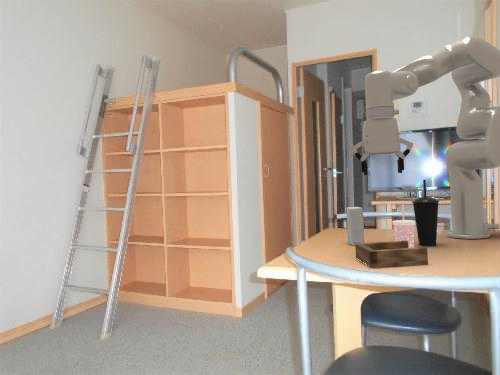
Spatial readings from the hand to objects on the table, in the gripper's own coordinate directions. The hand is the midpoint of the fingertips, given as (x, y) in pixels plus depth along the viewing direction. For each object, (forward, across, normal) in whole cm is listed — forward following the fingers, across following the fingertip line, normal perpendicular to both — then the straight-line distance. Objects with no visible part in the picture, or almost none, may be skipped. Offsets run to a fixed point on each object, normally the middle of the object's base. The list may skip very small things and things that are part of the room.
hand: (382, 173), depth 115 cm
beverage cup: (+23, -5, +3) cm, 23 cm away
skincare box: (+23, +8, -13) cm, 28 cm away
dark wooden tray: (+23, +1, +14) cm, 26 cm away
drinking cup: (+23, -13, -8) cm, 28 cm away
